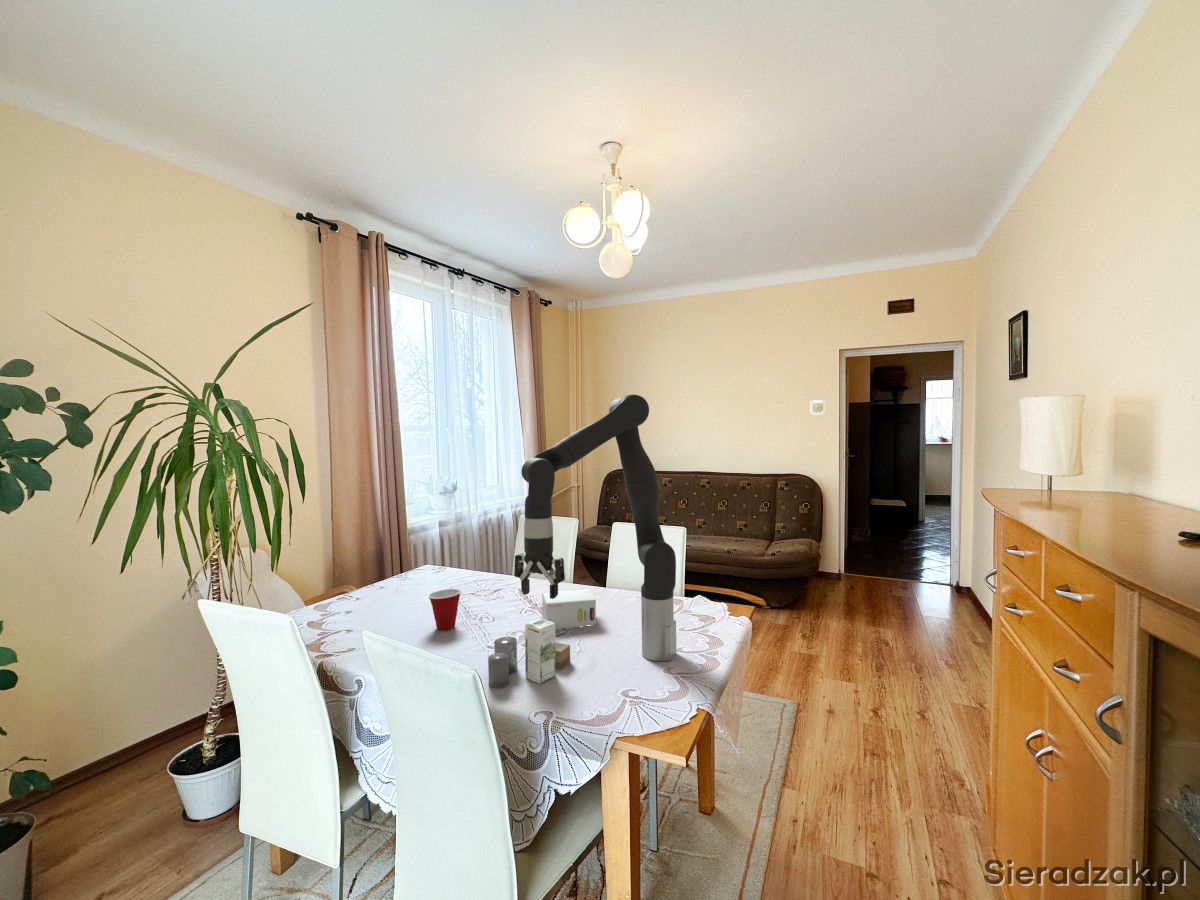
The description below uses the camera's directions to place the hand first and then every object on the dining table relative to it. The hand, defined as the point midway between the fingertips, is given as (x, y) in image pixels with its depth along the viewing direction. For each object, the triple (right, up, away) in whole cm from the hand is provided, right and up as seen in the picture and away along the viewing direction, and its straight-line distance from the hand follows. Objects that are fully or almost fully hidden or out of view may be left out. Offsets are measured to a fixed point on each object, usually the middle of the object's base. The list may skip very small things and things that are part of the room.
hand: (539, 595), depth 132 cm
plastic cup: (-36, -22, +37) cm, 56 cm away
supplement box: (+5, -21, +41) cm, 46 cm away
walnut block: (+4, -22, +8) cm, 23 cm away
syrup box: (0, -22, 0) cm, 22 cm away
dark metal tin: (-10, -22, +5) cm, 24 cm away
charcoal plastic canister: (-10, -22, -3) cm, 24 cm away
